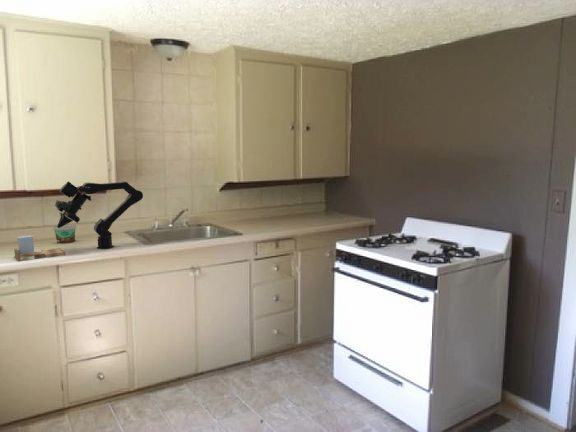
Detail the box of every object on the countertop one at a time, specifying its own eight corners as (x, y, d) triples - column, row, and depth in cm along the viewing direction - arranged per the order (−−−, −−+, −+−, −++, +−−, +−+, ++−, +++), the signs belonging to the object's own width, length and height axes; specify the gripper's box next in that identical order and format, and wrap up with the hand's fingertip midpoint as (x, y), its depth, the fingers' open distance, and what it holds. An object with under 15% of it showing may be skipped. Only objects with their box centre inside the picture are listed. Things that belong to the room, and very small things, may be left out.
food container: (56, 244, 264) (54, 227, 262) (54, 243, 269) (52, 225, 267) (79, 242, 271) (78, 225, 269) (77, 240, 276) (76, 223, 274)
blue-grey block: (32, 252, 237) (31, 235, 235) (34, 254, 233) (32, 236, 231) (19, 254, 233) (17, 236, 232) (20, 256, 229) (18, 238, 228)
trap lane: (60, 251, 248) (59, 243, 247) (65, 255, 238) (64, 247, 238) (14, 256, 235) (14, 248, 235) (18, 261, 226) (17, 253, 225)
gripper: (58, 190, 247) (39, 215, 243) (69, 198, 233) (49, 223, 230) (76, 202, 254) (57, 226, 251) (87, 210, 241) (68, 235, 237)
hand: (57, 227), depth 242 cm, fingers closed
